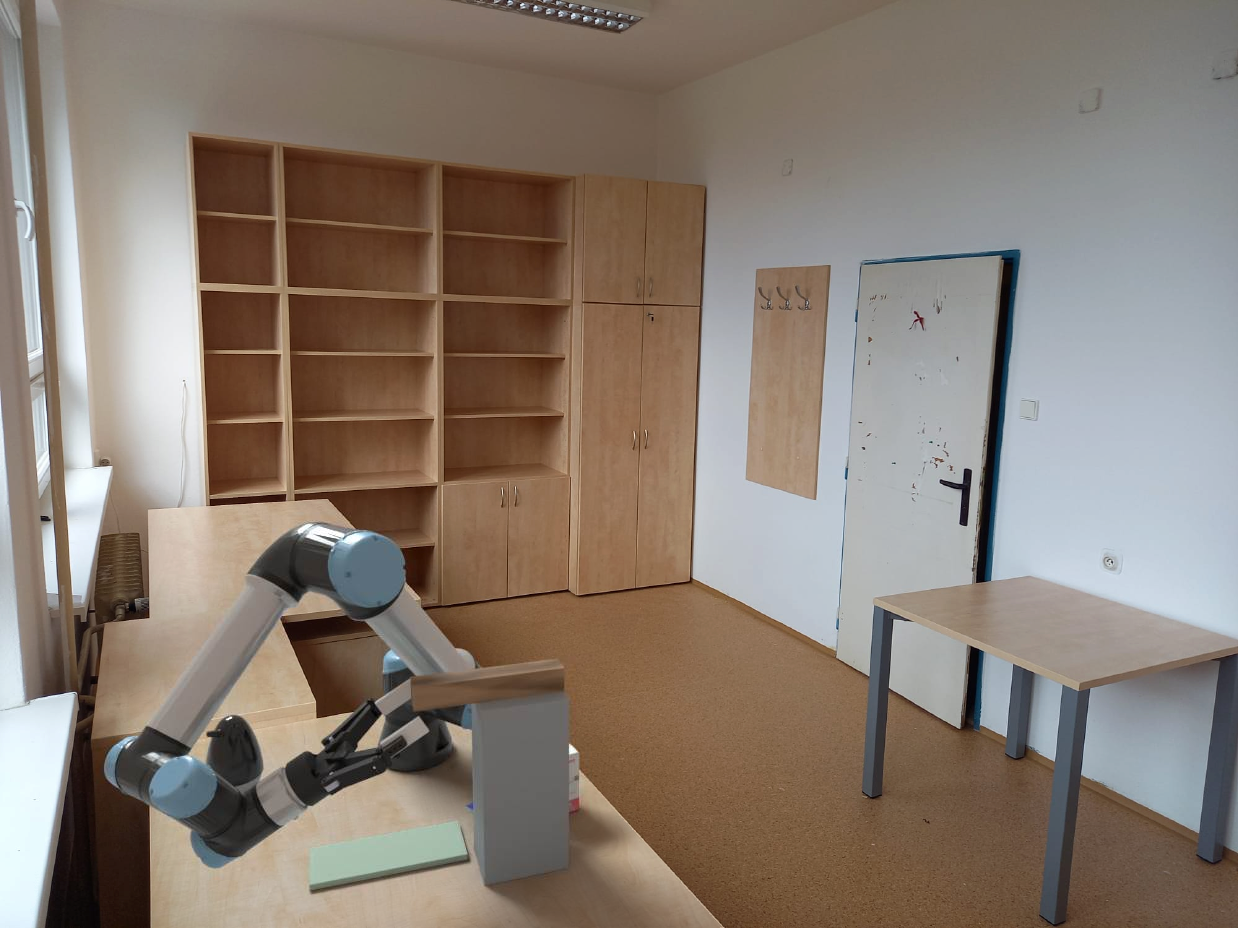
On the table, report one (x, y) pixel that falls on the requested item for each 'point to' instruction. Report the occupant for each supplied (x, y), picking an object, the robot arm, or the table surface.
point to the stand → (521, 786)
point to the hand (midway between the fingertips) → (419, 703)
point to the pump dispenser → (235, 752)
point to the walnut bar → (486, 684)
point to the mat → (385, 854)
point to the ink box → (573, 779)
